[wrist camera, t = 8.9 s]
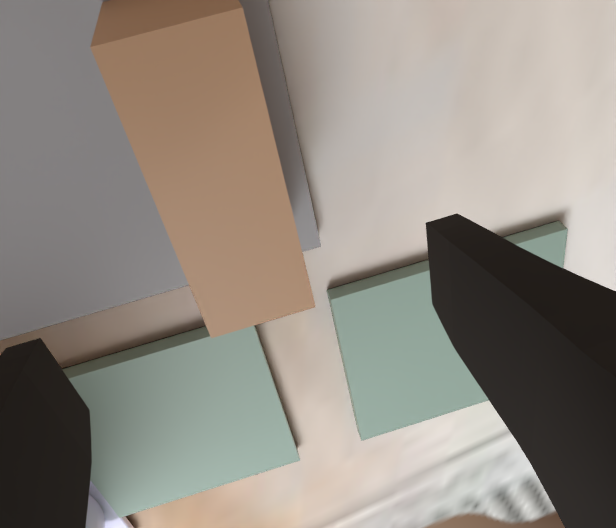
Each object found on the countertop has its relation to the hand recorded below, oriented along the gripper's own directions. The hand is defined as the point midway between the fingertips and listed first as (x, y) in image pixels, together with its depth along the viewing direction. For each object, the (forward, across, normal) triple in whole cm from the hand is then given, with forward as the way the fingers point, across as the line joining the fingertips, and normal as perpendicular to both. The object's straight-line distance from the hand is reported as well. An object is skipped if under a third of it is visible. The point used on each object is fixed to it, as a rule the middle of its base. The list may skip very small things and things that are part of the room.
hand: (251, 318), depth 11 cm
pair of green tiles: (+8, -1, +12) cm, 14 cm away
